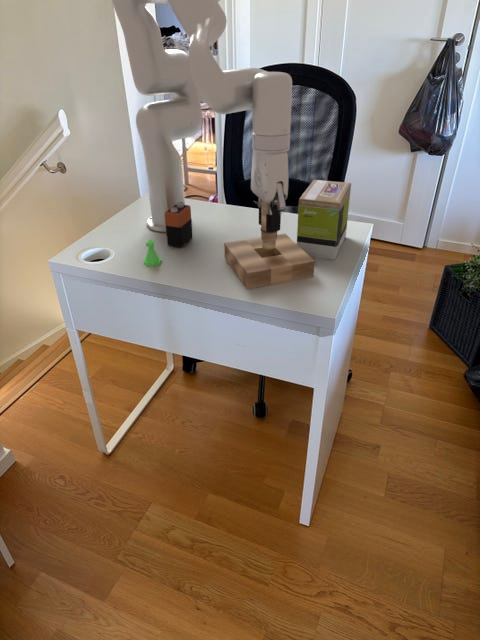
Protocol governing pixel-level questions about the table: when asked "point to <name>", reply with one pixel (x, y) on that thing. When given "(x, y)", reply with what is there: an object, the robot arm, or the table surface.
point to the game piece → (151, 255)
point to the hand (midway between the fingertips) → (269, 226)
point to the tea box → (323, 218)
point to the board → (268, 261)
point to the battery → (178, 225)
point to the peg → (266, 237)
